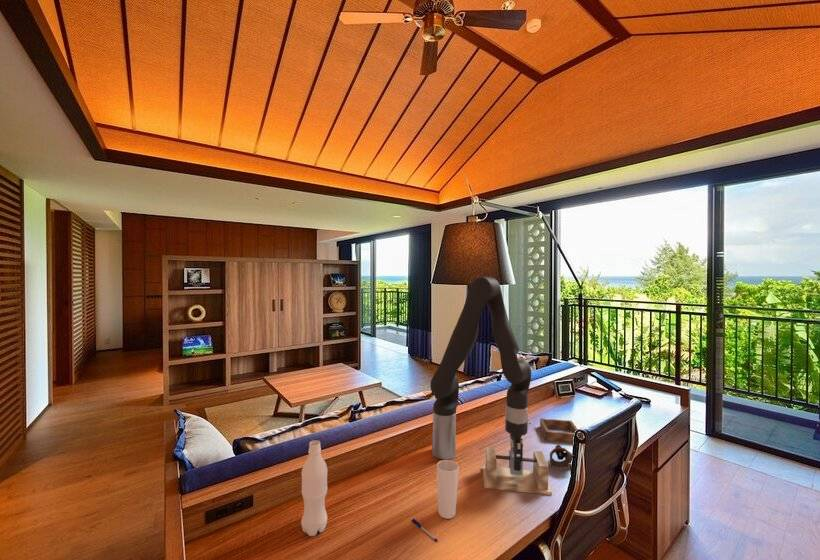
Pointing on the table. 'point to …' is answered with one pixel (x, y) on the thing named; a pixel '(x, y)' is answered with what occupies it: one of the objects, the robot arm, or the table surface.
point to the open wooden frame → (557, 424)
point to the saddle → (511, 465)
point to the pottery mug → (560, 457)
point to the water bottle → (314, 490)
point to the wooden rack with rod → (526, 483)
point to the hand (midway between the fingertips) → (515, 463)
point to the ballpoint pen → (424, 529)
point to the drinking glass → (447, 487)
